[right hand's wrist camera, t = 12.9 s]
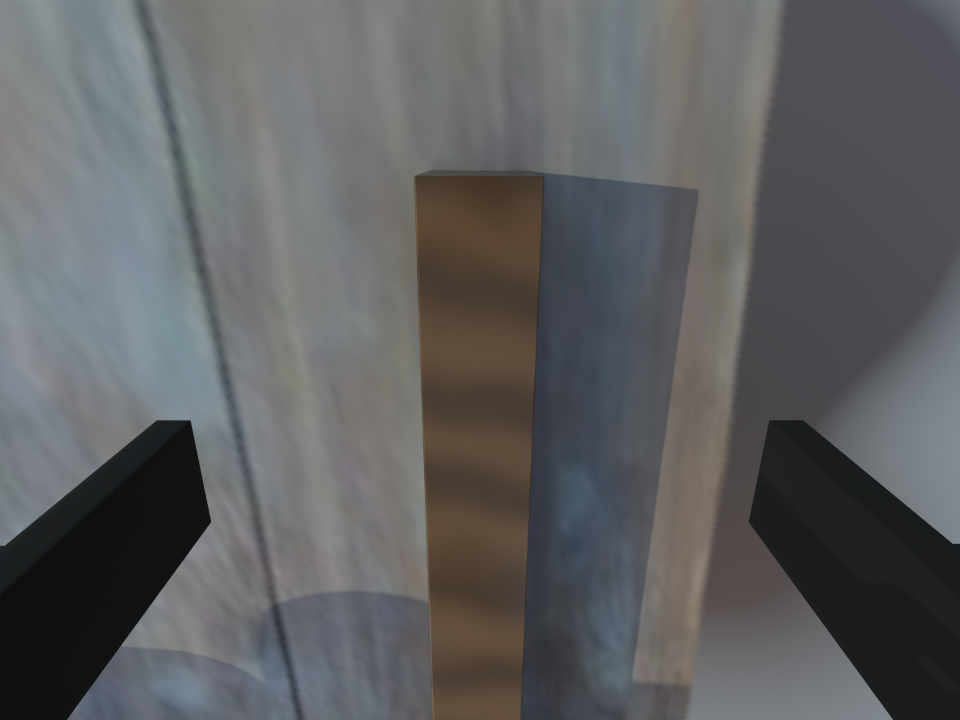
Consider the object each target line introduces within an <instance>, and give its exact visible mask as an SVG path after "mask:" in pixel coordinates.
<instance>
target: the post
mask: <svg viewBox="0 0 960 720" xmlns="http://www.w3.org/2000/svg"><path fill="white" fill-rule="evenodd" d="M414 189H415V218H416V248H417V277H418V306H419V335H420V364H421V393H422V422H423V451H424V480H425V509H426V538H427V567H428V596H429V625H430V654H431V683H432V712H433V720H521V701H522V678H523V654H524V631H525V608H526V585H527V562H528V539H529V516H530V493H531V470H532V447H533V424H534V401H535V377H536V354H537V331H538V308H539V285H540V262H541V239H542V216H543V193H544V177H543V176H540V175H538V174H535V173H532V172H529V171H427V172H425V173H422V174H419V175H416V176H414Z"/></svg>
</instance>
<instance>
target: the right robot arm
mask: <svg viewBox="0 0 960 720" xmlns="http://www.w3.org/2000/svg"><path fill="white" fill-rule="evenodd" d="M210 523H211V519H210V514H209V509H208V504H207V499H206V494H205V489H204V484H203V479H202V474H201V469H200V465H199V460H198V455H197V450H196V445H195V440H194V435H193V430H192V425H191V420H157V421H156V422H154V423H153V424H152V425H151V426H149V427H148V428H147V429H146V430H145V431H143V432H142V433H141V434H140V435H139V436H137V437H136V438H135V439H134V440H133V441H131V442H130V443H129V444H128V445H126V446H125V447H124V448H123V449H122V450H120V451H119V452H118V453H117V454H116V455H114V456H113V457H112V458H111V459H109V460H108V461H107V462H106V463H105V464H103V465H102V466H101V467H100V468H99V469H97V470H96V471H95V472H94V473H93V474H91V475H90V476H89V477H88V478H86V479H85V480H84V481H83V482H82V483H80V484H79V485H78V486H77V487H76V488H74V489H73V490H72V491H71V492H69V493H68V494H67V495H66V496H65V497H63V498H62V499H61V500H60V501H59V502H57V503H56V504H55V505H54V506H53V507H51V508H50V509H49V510H48V511H46V512H45V513H44V514H43V515H42V516H40V517H39V518H38V519H37V520H36V521H34V522H33V523H32V524H31V525H29V526H28V527H27V528H26V529H25V530H23V531H22V532H21V533H20V534H19V535H17V536H16V537H15V538H14V539H13V540H11V541H10V542H9V543H8V544H6V545H5V546H0V720H67V719H68V717H69V716H70V715H71V713H72V712H73V711H74V709H75V708H76V706H77V705H78V704H79V702H80V701H81V700H82V698H83V697H84V695H85V694H86V693H87V691H88V690H89V689H90V687H91V686H92V685H93V683H94V682H95V680H96V679H97V678H98V676H99V675H100V674H101V672H102V671H103V669H104V668H105V667H106V665H107V664H108V663H109V661H110V660H111V658H112V657H113V656H114V654H115V653H116V652H117V650H118V649H119V648H120V646H121V645H122V643H123V642H124V641H125V639H126V638H127V637H128V635H129V634H130V632H131V631H132V630H133V628H134V627H135V626H136V624H137V623H138V622H139V620H140V619H141V617H142V616H143V615H144V613H145V612H146V611H147V609H148V608H149V606H150V605H151V604H152V602H153V601H154V600H155V598H156V597H157V595H158V594H159V593H160V591H161V590H162V589H163V587H164V586H165V585H166V583H167V582H168V580H169V579H170V578H171V576H172V575H173V574H174V572H175V571H176V569H177V568H178V567H179V565H180V564H181V563H182V561H183V560H184V559H185V557H186V556H187V554H188V553H189V552H190V550H191V549H192V548H193V546H194V545H195V543H196V542H197V541H198V539H199V538H200V537H201V535H202V534H203V532H204V531H205V530H206V528H207V527H208V526H209V524H210ZM749 523H750V524H751V526H752V527H753V528H754V530H755V531H756V532H757V534H758V535H759V537H760V538H761V539H762V541H763V542H764V543H765V545H766V546H767V548H768V549H769V550H770V552H771V553H772V554H773V556H774V557H775V559H776V560H777V561H778V563H779V564H780V565H781V567H782V568H783V569H784V571H785V572H786V574H787V575H788V576H789V578H790V579H791V580H792V582H793V583H794V584H795V586H796V587H797V589H798V590H799V591H800V593H801V594H802V595H803V597H804V598H805V600H806V601H807V602H808V604H809V605H810V606H811V608H812V609H813V611H814V612H815V613H816V615H817V616H818V617H819V619H820V620H821V622H822V623H823V624H824V626H825V627H826V628H827V630H828V631H829V632H830V634H831V635H832V637H833V638H834V639H835V641H836V642H837V643H838V645H839V646H840V648H841V649H842V650H843V652H844V653H845V654H846V656H847V657H848V658H849V660H850V661H851V662H852V664H853V665H854V667H855V668H856V669H857V671H858V672H859V674H860V675H861V676H862V678H863V679H864V680H865V682H866V683H867V685H868V686H869V687H870V689H871V690H872V691H873V693H874V694H875V695H876V697H877V698H878V700H879V701H880V702H881V704H882V705H883V706H884V708H885V709H886V710H887V712H888V713H889V715H890V716H891V717H892V719H893V720H960V544H952V543H951V542H950V541H949V540H947V539H946V538H945V537H944V536H943V535H941V534H940V533H939V532H938V531H937V530H935V529H934V528H933V527H932V526H930V525H929V524H928V523H927V522H926V521H924V520H923V519H922V518H921V517H920V516H918V515H917V514H916V513H915V512H913V511H912V510H911V509H910V508H909V507H907V506H906V505H905V504H904V503H903V502H901V501H900V500H899V499H898V498H897V497H895V496H894V495H893V494H892V493H891V492H889V491H888V490H887V489H886V488H884V487H883V486H882V485H881V484H880V483H878V482H877V481H876V480H875V479H874V478H872V477H871V476H870V475H869V474H867V473H866V472H865V471H864V470H863V469H861V468H860V467H859V466H858V465H857V464H855V463H854V462H853V461H852V460H851V459H849V458H848V457H847V456H846V455H844V454H843V453H842V452H841V451H840V450H838V449H837V448H836V447H835V446H834V445H832V444H831V443H830V442H829V441H827V440H826V439H825V438H824V437H823V436H821V435H820V434H819V433H818V432H817V431H815V430H814V429H813V428H812V427H811V426H809V425H808V424H807V423H806V422H804V421H803V420H770V421H769V425H768V430H767V435H766V440H765V445H764V450H763V455H762V460H761V465H760V469H759V475H758V479H757V484H756V489H755V494H754V499H753V504H752V509H751V514H750V519H749Z"/></svg>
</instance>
